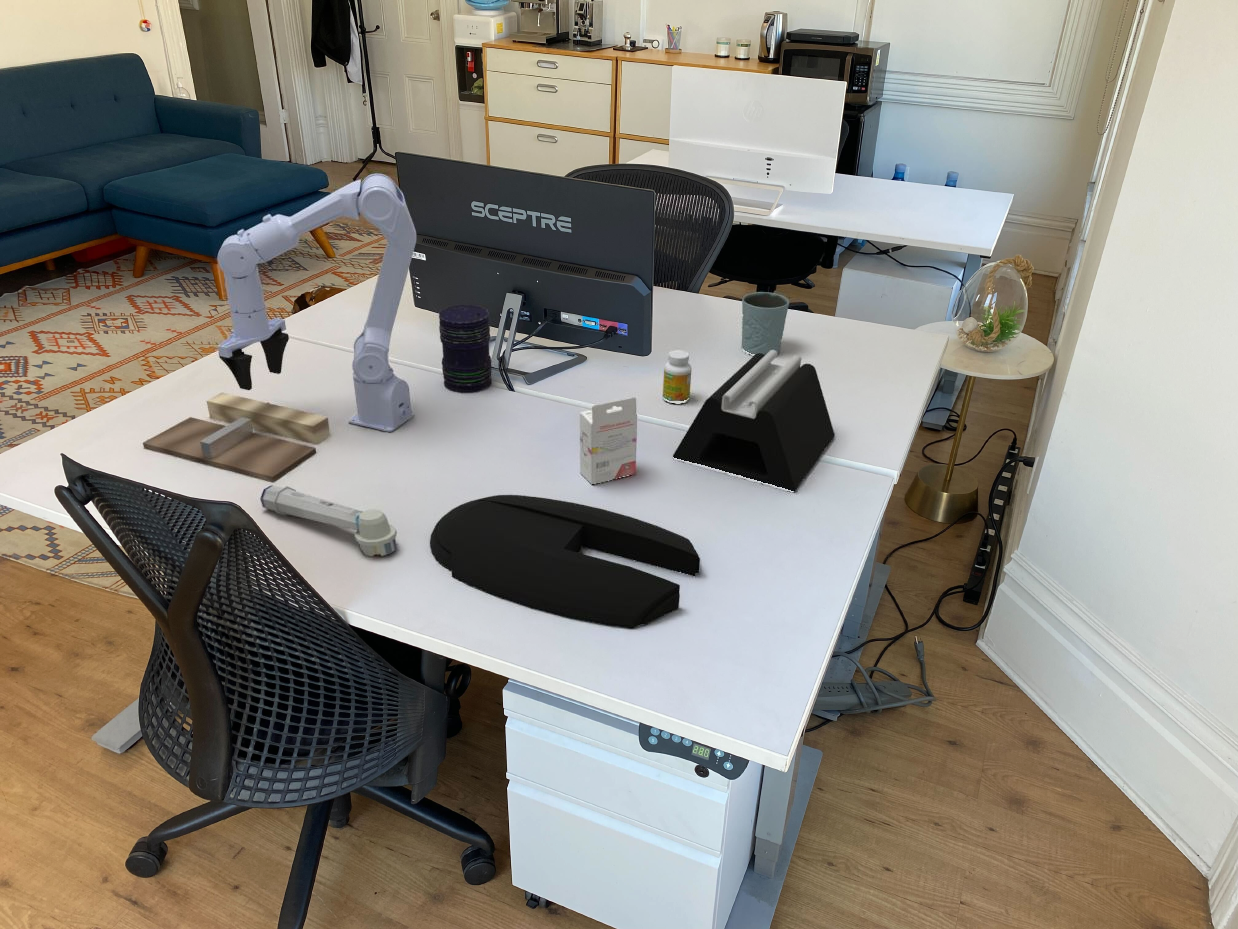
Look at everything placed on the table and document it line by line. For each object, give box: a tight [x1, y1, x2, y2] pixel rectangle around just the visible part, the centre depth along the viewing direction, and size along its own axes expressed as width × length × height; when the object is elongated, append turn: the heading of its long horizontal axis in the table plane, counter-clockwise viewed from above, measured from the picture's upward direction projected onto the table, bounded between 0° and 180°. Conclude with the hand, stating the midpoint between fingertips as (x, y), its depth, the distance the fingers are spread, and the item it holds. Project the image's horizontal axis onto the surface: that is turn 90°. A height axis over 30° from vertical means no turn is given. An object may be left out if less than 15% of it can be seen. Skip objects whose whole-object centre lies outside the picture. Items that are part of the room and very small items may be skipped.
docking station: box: [429, 494, 701, 630], centre depth 134 cm, size 25×40×5 cm, turn 67°
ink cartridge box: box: [579, 396, 638, 485], centre depth 153 cm, size 9×5×15 cm, turn 117°
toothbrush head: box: [259, 484, 398, 557], centre depth 139 cm, size 5×7×25 cm
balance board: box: [142, 416, 317, 483], centre depth 160 cm, size 28×11×1 cm, turn 68°
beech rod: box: [206, 392, 331, 445], centre depth 168 cm, size 24×4×4 cm, turn 68°
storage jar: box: [438, 304, 493, 394], centre depth 183 cm, size 10×10×15 cm
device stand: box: [672, 350, 836, 492], centre depth 162 cm, size 22×22×15 cm
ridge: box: [200, 417, 255, 459], centre depth 159 cm, size 2×10×3 cm, turn 158°
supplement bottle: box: [662, 349, 692, 401], centre depth 181 cm, size 5×5×10 cm
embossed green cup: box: [741, 291, 790, 355], centre depth 203 cm, size 10×10×12 cm
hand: (260, 380), depth 164 cm, fingers open, 7 cm apart
